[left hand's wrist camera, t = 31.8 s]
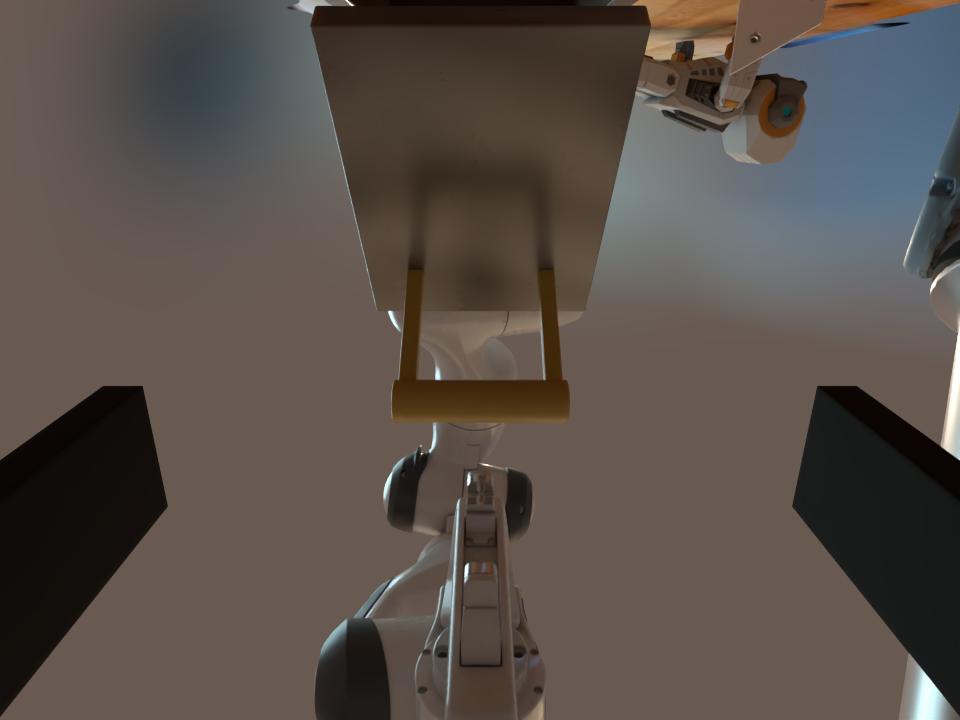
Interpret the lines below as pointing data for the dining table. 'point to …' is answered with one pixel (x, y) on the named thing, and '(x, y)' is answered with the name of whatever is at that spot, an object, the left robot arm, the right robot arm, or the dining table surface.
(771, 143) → the robot
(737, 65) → the white angled block
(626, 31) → the lid
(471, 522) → the right robot arm
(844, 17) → the dining table surface
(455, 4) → the chest
